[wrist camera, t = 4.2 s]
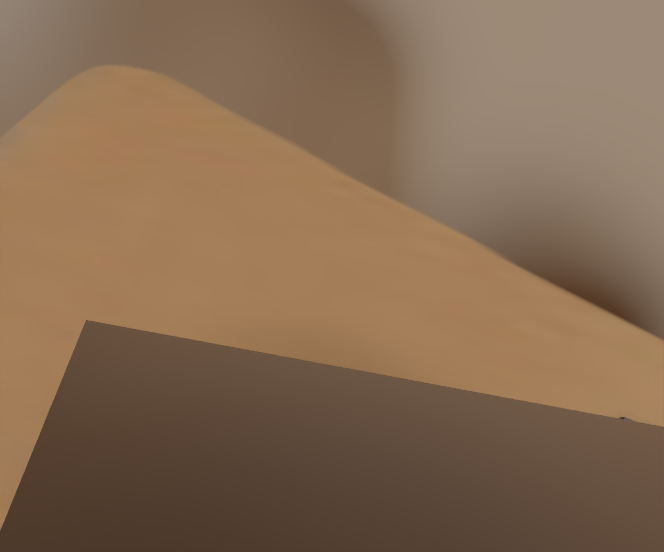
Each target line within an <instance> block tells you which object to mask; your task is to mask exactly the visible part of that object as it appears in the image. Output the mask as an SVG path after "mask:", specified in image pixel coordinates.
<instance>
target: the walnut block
mask: <svg viewBox="0 0 664 552" xmlns="http://www.w3.org/2000/svg"><path fill="white" fill-rule="evenodd" d="M0 552H664V427H661V426H656V425H650V424H645V423H639V422H634V421H629V420H623V419H618V418H612V417H607V416H602V415H596V414H591V413H585V412H580V411H575V410H569V409H564V408H558V407H553V406H548V405H542V404H537V403H531V402H526V401H521V400H515V399H510V398H504V397H499V396H494V395H488V394H483V393H477V392H472V391H467V390H461V389H456V388H450V387H445V386H440V385H434V384H429V383H423V382H418V381H412V380H407V379H402V378H396V377H391V376H385V375H380V374H375V373H369V372H364V371H358V370H353V369H348V368H342V367H337V366H331V365H326V364H321V363H315V362H310V361H304V360H299V359H294V358H288V357H283V356H277V355H272V354H267V353H261V352H256V351H250V350H245V349H240V348H234V347H229V346H223V345H218V344H213V343H207V342H202V341H196V340H191V339H186V338H180V337H175V336H169V335H164V334H159V333H153V332H148V331H142V330H137V329H131V328H126V327H121V326H115V325H110V324H104V323H99V322H94V321H88V320H86V322H85V324H84V327H83V329H82V332H81V334H80V337H79V339H78V342H77V344H76V346H75V349H74V351H73V354H72V356H71V359H70V361H69V364H68V366H67V369H66V371H65V373H64V376H63V378H62V381H61V383H60V386H59V388H58V391H57V393H56V396H55V398H54V400H53V403H52V405H51V408H50V410H49V413H48V415H47V418H46V420H45V423H44V425H43V428H42V430H41V432H40V435H39V437H38V440H37V442H36V445H35V447H34V450H33V452H32V455H31V457H30V459H29V462H28V464H27V467H26V469H25V472H24V474H23V477H22V479H21V482H20V484H19V486H18V489H17V491H16V494H15V496H14V499H13V501H12V504H11V506H10V509H9V511H8V514H7V516H6V518H5V521H4V523H3V526H2V528H1V531H0Z"/></svg>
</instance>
